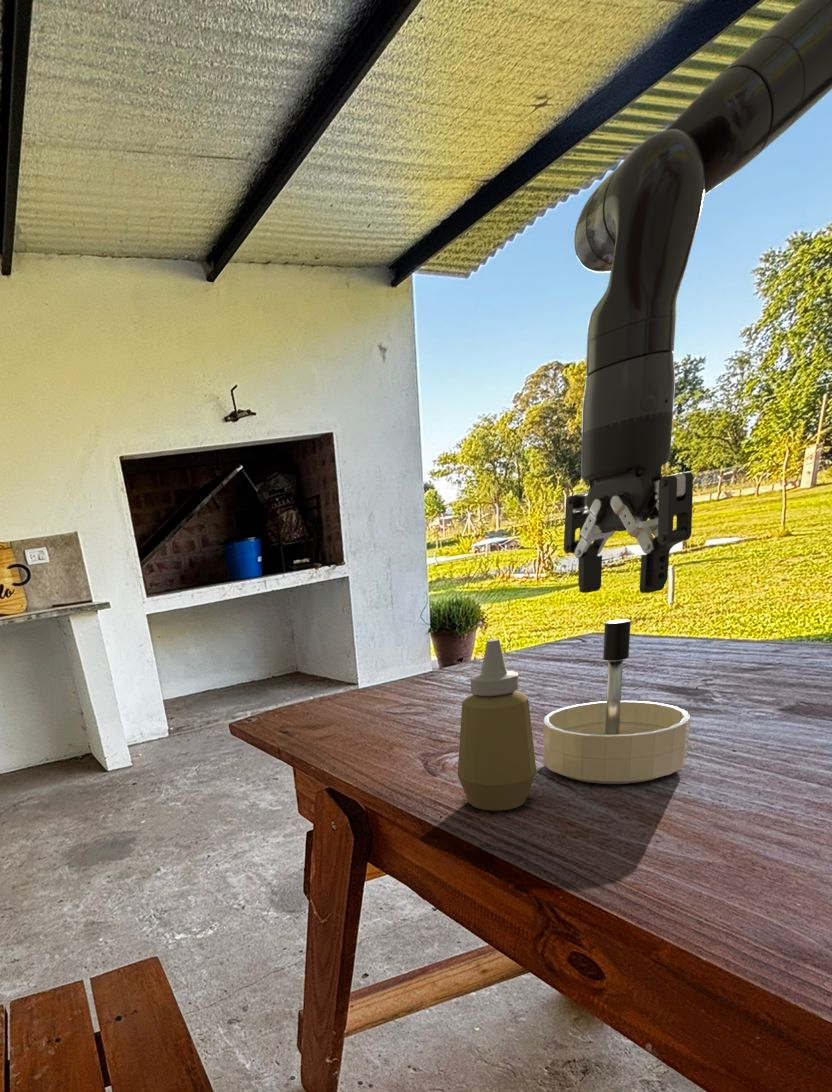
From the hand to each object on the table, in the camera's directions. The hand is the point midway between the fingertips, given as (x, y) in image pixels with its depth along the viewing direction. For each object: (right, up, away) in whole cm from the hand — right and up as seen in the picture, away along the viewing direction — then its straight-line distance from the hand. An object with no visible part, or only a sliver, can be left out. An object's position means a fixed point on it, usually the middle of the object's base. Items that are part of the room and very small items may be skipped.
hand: (618, 591), depth 65 cm
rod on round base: (+3, -18, +7) cm, 19 cm away
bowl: (+3, -18, +7) cm, 20 cm away
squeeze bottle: (-12, -23, +3) cm, 26 cm away
